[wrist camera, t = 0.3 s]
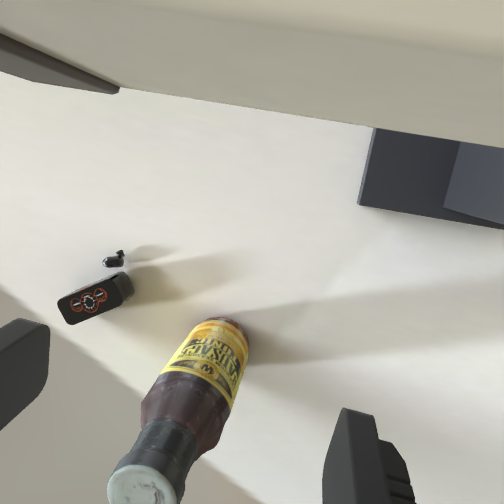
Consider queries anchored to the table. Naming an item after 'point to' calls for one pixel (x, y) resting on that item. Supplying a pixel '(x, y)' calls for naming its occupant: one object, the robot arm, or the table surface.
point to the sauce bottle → (182, 414)
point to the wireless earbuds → (97, 294)
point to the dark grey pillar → (434, 178)
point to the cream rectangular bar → (279, 56)
